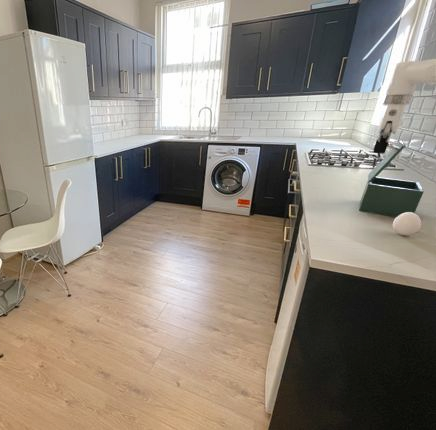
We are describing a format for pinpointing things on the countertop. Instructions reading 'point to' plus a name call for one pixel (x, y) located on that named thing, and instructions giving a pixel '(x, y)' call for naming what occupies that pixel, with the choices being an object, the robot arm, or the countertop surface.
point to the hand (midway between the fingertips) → (378, 151)
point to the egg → (407, 223)
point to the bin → (390, 197)
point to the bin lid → (386, 160)
